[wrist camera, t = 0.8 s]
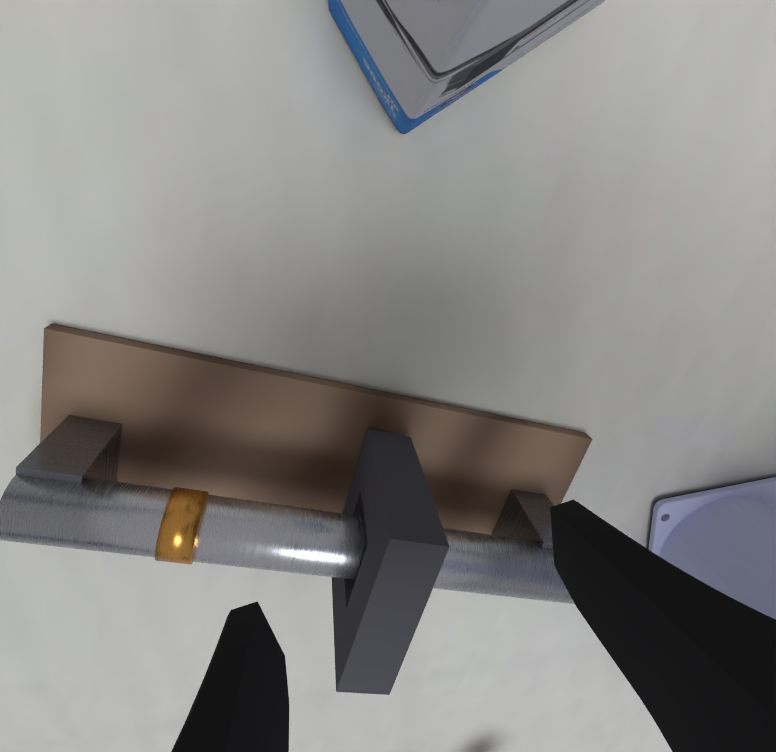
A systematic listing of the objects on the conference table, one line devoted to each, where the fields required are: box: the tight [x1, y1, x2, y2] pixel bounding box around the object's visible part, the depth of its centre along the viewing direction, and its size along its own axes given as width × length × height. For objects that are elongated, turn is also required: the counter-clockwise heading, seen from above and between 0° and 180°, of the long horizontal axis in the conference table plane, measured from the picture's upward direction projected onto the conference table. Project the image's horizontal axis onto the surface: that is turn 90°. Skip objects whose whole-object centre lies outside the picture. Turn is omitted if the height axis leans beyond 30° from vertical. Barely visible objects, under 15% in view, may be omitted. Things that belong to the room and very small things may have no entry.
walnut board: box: [40, 324, 592, 535], centre depth 23 cm, size 24×10×1 cm, turn 74°
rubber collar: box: [332, 429, 450, 695], centre depth 20 cm, size 2×7×7 cm, turn 164°
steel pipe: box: [0, 415, 575, 604], centre depth 20 cm, size 22×3×5 cm, turn 74°
